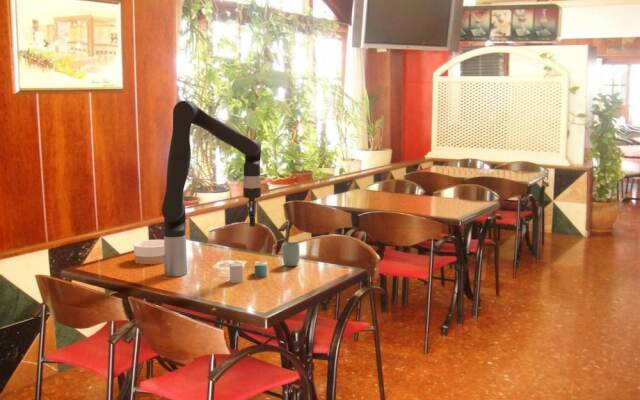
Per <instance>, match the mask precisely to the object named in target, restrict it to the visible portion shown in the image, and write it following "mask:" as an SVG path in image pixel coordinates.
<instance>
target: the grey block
mask: <svg viewBox="0 0 640 400" xmlns="http://www.w3.org/2000/svg"><path fill="white" fill-rule="evenodd" d="M243 277H244V275H243V264H241V263H240V262H239V263H237V262H236V263H230V264H229V281H230V283H232V284H236V283H238V284H239V283H244V282H243V281H244V279H243Z"/></svg>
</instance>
